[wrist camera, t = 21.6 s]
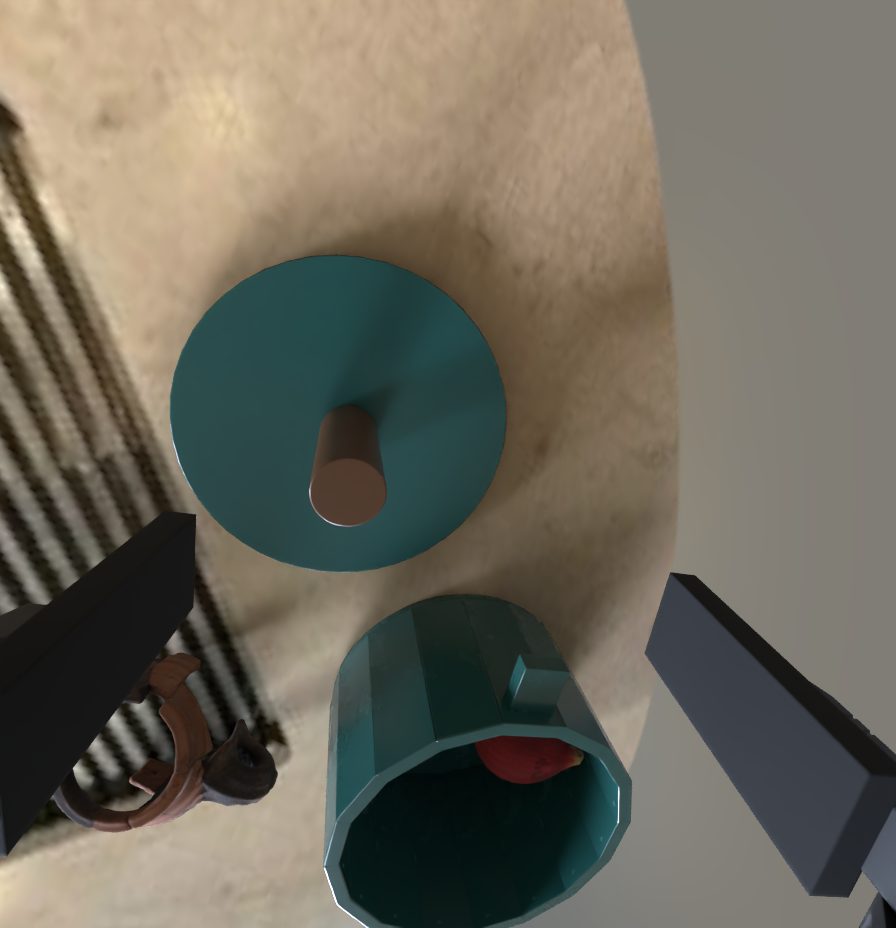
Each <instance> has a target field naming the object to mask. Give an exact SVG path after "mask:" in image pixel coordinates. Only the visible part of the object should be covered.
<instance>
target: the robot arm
mask: <svg viewBox="0 0 896 928" xmlns="http://www.w3.org/2000/svg"><path fill="white" fill-rule="evenodd" d="M195 537H196V515H195V514H187V513H179V512H171V511H164V512H163V513H162V514H161V515H159V516H158V517H157V518H156V519H154V520H153V521H152V522H151V523H149V524H148V525H147V526H146V527H144V528H143V529H142V530H140V531H139V532H138V533H137V534H135V535H134V536H133V537H132V538H130V539H129V540H128V541H127V542H125V543H124V544H123V545H122V546H120V547H119V548H118V549H117V550H115V551H114V552H113V553H112V554H110V555H109V556H108V557H106V558H105V559H104V560H103V561H101V562H100V563H99V564H98V565H96V566H95V567H94V568H93V569H91V570H90V571H89V572H88V573H86V574H85V575H84V576H83V577H81V578H80V579H79V580H78V581H76V582H75V583H74V584H72V585H71V586H70V587H69V588H67V589H66V590H65V591H64V592H62V593H61V594H60V595H59V596H57V597H56V598H55V599H54V600H52V601H51V602H50V603H49V604H47V605H41V604H31V603H28V604H26V605H24V606H21V607H19V608H17V609H14V610H12V611H10V612H8V613H5V614H3V615H1V616H0V856H7V855H8V854H9V853H10V851H11V850H12V849H13V847H14V846H15V845H16V843H17V842H18V841H19V839H20V838H21V837H22V835H23V834H24V833H25V831H26V830H27V829H28V827H29V826H30V825H31V823H32V822H33V821H34V819H35V818H36V817H37V815H38V814H39V813H40V811H41V810H42V809H43V807H44V806H45V805H46V803H47V802H48V801H49V799H50V798H51V797H52V795H53V794H54V793H55V791H56V790H57V789H58V787H59V786H60V785H61V783H62V782H63V781H64V779H65V778H66V777H67V775H68V774H69V773H70V771H71V770H72V769H73V767H74V766H75V765H76V763H77V762H78V761H79V759H80V758H81V757H82V755H83V754H84V753H85V751H86V750H87V749H88V747H89V746H90V745H91V743H92V742H93V741H94V739H95V738H96V737H97V735H98V734H99V733H100V731H101V730H102V729H103V727H104V726H105V725H106V723H107V722H108V721H109V719H110V718H111V717H112V715H113V714H114V713H115V711H116V710H117V709H118V707H119V706H120V705H121V703H122V702H123V701H124V699H125V698H126V697H127V695H128V694H129V693H130V691H131V690H132V689H133V687H134V686H135V685H136V683H137V682H138V681H139V679H140V678H141V677H142V675H143V674H144V673H145V671H146V670H147V669H148V667H149V666H150V665H151V663H152V662H153V661H154V659H155V658H156V657H157V655H158V654H159V653H160V651H161V650H162V649H163V647H164V646H165V645H166V643H167V642H168V641H169V639H170V638H171V637H172V635H173V634H174V633H175V631H176V630H177V629H178V627H179V626H180V625H181V623H182V622H183V621H184V619H185V618H186V617H187V615H188V614H189V612H190V611H191V610H192V608H193V604H194V571H195ZM645 655H646V656H647V658H648V659H649V661H650V662H651V664H652V665H653V667H654V668H655V670H656V671H657V673H658V674H659V676H660V677H661V678H662V680H663V681H664V683H665V684H666V686H667V687H668V689H669V690H670V692H671V693H672V695H673V696H674V698H675V699H676V700H677V702H678V703H679V705H680V706H681V708H682V709H683V711H684V712H685V714H686V715H687V717H688V718H689V720H690V721H691V722H692V724H693V725H694V727H695V728H696V730H697V731H698V733H699V734H700V736H701V737H702V739H703V740H704V742H705V743H706V745H707V746H708V748H709V749H710V750H711V752H712V753H713V755H714V756H715V758H716V759H717V761H718V762H719V764H720V765H721V766H722V768H723V770H724V771H725V772H726V774H727V775H728V776H729V778H730V780H731V781H732V783H733V784H734V786H735V787H736V789H737V790H738V792H739V793H740V794H741V796H742V797H743V799H744V800H745V802H746V803H747V805H748V806H749V807H750V809H751V810H752V812H753V814H754V815H755V816H756V818H757V819H758V821H759V822H760V824H761V825H762V827H763V828H764V830H765V831H766V833H767V834H768V835H769V837H770V839H771V840H772V841H773V843H774V844H775V846H776V847H777V849H778V850H779V852H780V853H781V855H782V856H783V858H784V859H785V861H786V862H787V864H788V865H789V866H790V868H791V869H792V871H793V872H794V874H795V875H796V877H797V878H798V879H799V881H800V883H801V884H802V886H803V887H804V888H805V890H806V891H807V893H808V894H809V896H826V897H849V895H850V893H851V892H852V890H853V888H854V886H855V884H856V882H857V880H858V878H859V876H860V874H861V872H862V871H863V873H864V874H865V875H866V876H867V878H868V879H869V880H870V881H871V883H872V884H873V885H874V886H875V888H876V889H877V890H878V893H877V895H876V897H875V899H874V901H873V903H872V904H871V906H870V908H869V910H868V912H867V913H866V915H865V917H864V919H863V921H862V922H861V924H860V926H859V928H896V754H895V753H894V752H892V751H891V750H890V749H889V748H888V747H887V746H886V745H885V744H884V743H883V742H881V741H880V740H879V739H878V738H877V737H876V736H875V735H871V734H870V730H868V729H867V728H866V727H865V726H864V725H863V724H862V723H861V722H860V721H859V720H857V719H854V718H853V715H852V714H851V713H850V712H849V711H848V710H846V709H845V708H844V707H843V706H842V705H841V704H840V703H839V702H838V701H837V700H835V699H834V698H833V697H832V696H831V695H829V694H828V693H826V692H825V691H823V690H822V689H820V688H819V687H817V686H816V685H814V684H813V683H811V682H810V681H808V680H807V679H806V678H805V677H804V676H803V675H802V674H801V673H800V672H799V671H797V670H796V669H795V668H794V667H793V666H792V665H791V664H790V663H789V662H788V661H787V660H786V659H784V658H783V657H782V656H781V655H780V654H779V653H778V652H777V651H776V650H775V649H774V648H773V647H771V646H770V645H769V644H768V643H767V642H766V641H765V640H764V639H763V638H762V637H761V636H760V635H759V634H757V632H755V631H754V630H753V629H752V628H751V627H750V626H749V625H748V624H747V623H746V622H745V621H743V619H741V618H740V617H739V616H738V615H737V614H736V613H735V612H734V611H733V610H732V609H730V608H729V606H727V605H726V604H725V603H724V602H723V601H722V600H721V599H720V598H719V597H718V596H717V595H716V594H715V593H713V592H712V591H711V590H710V589H709V588H708V587H707V586H706V585H705V584H704V583H703V582H702V581H701V580H699V579H698V578H697V577H696V576H695V575H687V574H679V573H671V572H670V575H669V578H668V581H667V584H666V587H665V590H664V594H663V597H662V600H661V603H660V606H659V609H658V613H657V616H656V619H655V622H654V625H653V628H652V632H651V635H650V638H649V641H648V644H647V647H646V651H645Z"/></svg>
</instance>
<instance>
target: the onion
mask: <svg viewBox="0 0 896 928" xmlns="http://www.w3.org/2000/svg"><path fill="white" fill-rule="evenodd" d="M474 743H475V746H476V749H477V752H478V755H479V757H480V758H481V760H482V761H483V763H484V764H485V766H486V767H487V769H489V770H490V771H491V772H493V773H494V774H495V775H496V776H498V777H499V778H501V779H504V780H507V781H509V782H512V783H520V784H531V783H537V782H541V781H544V780H546V779H549V778H551V777H552V776H554V775H556V774H558V773H559V772H561V771H563V770H566V769H568V768H570V767H572V766H575V765H579V764H580V763H581V761H582V760H583V758H584V753H583V752H582V750H581V749H579V748H576V747H575V746H573V745H571V744H569V743H567V742H565V741H563V740H561V739H559V738H545V737H525V736H505V735H501V736H497V737H493V738H489V739H485V740H481V741H477V742H474Z"/></svg>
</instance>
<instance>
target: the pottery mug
mask: <svg viewBox="0 0 896 928" xmlns="http://www.w3.org/2000/svg"><path fill="white" fill-rule="evenodd" d="M200 664H201V661H200V660H199V659H197V658H195V657H193V656H190V655H187V654H185V653H177V654H175V655H168V656H167V657H166V658H165V659H164V660H163V661H161V660H160V659H157V658H155V659H154V661H153V662H152V663H151V665H150V666H149V667H148V669H147V670H146V671H145V673H144V674H143V675H142V677H141V678H140V679H139V681H138V682H137V683H136V685H135V686H134V687H133V689H132V690H131V691H130V693H129V694H128V695H127V697H126V698H125V699H124V701H123V702H122V703H138V704H140V703H142V702H143V701H144V699H145V698H146V696H147V695H148V693H150V692H151V693H153V694H155V695H157V696H161V697H162V698H163V699H164V700H165V702H164V703H163V705H162V707H161V708H160V710H159V714H160V715H161V717H162V718H163V719H164V721H165V722H166V723H167V725H168V727H169V728H170V730H171V732H172V734H173V737H174V742H175V748H176V758H175V766H174V765H170V764H166V763H162V762H160V761H158V760H156V759H154V758H150V759H149V760H148V761H147V762H146V763H145V764H144V765H143V767H142V768H141V769H140V770H139V771H138V772H137V773H135V774H134V775H132V776H131V777H130V780H129V781H130V783H131V784H133V785H135V786H137V787H140V788H142V789H144V790H145V791H146V792H148V793H149V794H151V795H153V797H152V798H151V799H150V800H149V801H148V802H146V803H145V804H144V805H142V806H141V807H140V808H139V809H137V810H133V811H114V810H110V809H104V808H102V807H100V806H98V805H96V804H95V803H94V802H92V798H91V797H90V796H89V795H88V794H86V793H85V792H84V791H83V790H82V789H81V788H80V787H79V785H78V783H77V781H76V779H75V776H74V771H73V769H72V770H71V771H70V773H69V774H68V775H67V777H66V778H65V779H64V781H63V782H62V783H61V785H60V786H59V787H58V789H57V790H56V791H55V793H54V794H53V796H54V798H55V801H56V803H57V805H58V806H59V808H60V809H61V810H62V811H63V812H64V813H65V814H66V815H67V816H68V817H69V818H70V819H72V820H73V821H74V822H76V823H78V824H79V825H82V826H83V827H86V828H93V829H95V830H98V831H103V832H124V831H128V830H131V829H133V828H142V827H150V826H155V825H159V824H163V823H166V822H169V821H171V820H173V819H175V818H178V817H180V816H181V815H183V814H184V813H185V812H187V811H188V810H190V809H192V808H193V807H195V806H196V805H197V804H198V803H200V802H201V801H211V802H217V803H220V804H223V805H226V806H232V805H248V804H251V803H257V802H258V801H260V800H261V799H262V798H263V797H264V796H266V795H267V794H268V792H269V791H270V790H271V789H272V788H273V786H274V784H275V782H276V779H277V775H278V773H277V770H276V768H275V763H274V759H273V757H272V755H271V754H270V753H269V752H268V750H267V749H266V748H265V747H264V746H262V745H261V744H260V743H259V742H257V741H256V740H254V739H253V738H252V737H251V735H250V733H249V731H248V728H247V726H246V724H245V721H244V719H240V720H238V721H237V723H236V726H235V730H234V732H233V734H232V736H231V737H230V739H227V740H226V741H225V743H224V744H223V745H222V746H221V747H220V748H219V750H217V751H216V752H215V753H214V754H213V755H211V756H210V757H208V758H207V759H205V760H202V761H201V758H202V757H203V756H204V755H206V754H207V753H209V752H210V751H212V749H213V748H212V742H211V738H210V734H209V731H208V726H207V722H206V719H205V718H204V716H203V714H202V712H201V710H200V706H199V704H198V702H197V700H196V698H195V697H194V695H193V694H192V692H191V691H190V690H189V688H188V687H187V686H186V685H185V684H183V682H184V681H185V680H186V678H187V677H188V676H189V675H190V674H191V673H193V672H194V671H196V670H198V669H199V668H200Z"/></svg>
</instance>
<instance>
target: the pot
mask: <svg viewBox="0 0 896 928" xmlns="http://www.w3.org/2000/svg"><path fill="white" fill-rule="evenodd" d="M501 735H505V736H525V737H545V738H559V739H561V740H563V741H565V742H567V743H569V744H571V745H573V746H575V747H576V748H579V749H581V750H582V752H583V753H584V758H583V760H582V761H581V763H580V764H579V765H575V766H572V767H570V768H568V769H566V770H563V771H561V772H559V773H558V774H556V775H554V776H552V777H551V778H549V779H546V780H544V781H541V782H537V783H531V784H520V783H512V782H509V781H507V780H504V779H501V778H499V777H498V776H496V775H495V774H494V773H493V772H491V771H490V770H489V769H487V767H486V766H485V764H484V763H483V761H482V760H481V758H480V757H479V755H478V752H477V749H476V746H475V743H474V742H477V741H481V740H485V739H489V738H493V737H497V736H501ZM631 794H632V780H631V778H630V777H629V775H628V773H627V771H626V769H625V768H624V766H623V764H622V762H621V760H620V758H619V757H618V755H617V753H616V751H615V749H614V748H613V746H612V744H611V742H610V740H609V739H608V737H607V735H606V733H605V731H604V729H603V728H602V726H601V724H600V722H599V720H598V719H597V717H596V715H595V713H594V711H593V709H592V708H591V706H590V704H589V702H588V700H587V699H586V697H585V695H584V693H583V691H582V689H581V688H580V686H579V684H578V682H577V680H576V679H575V677H574V675H573V673H572V671H571V670H570V668H569V666H568V664H567V662H566V660H565V659H564V657H563V655H562V653H561V651H560V650H559V648H558V647H557V645H556V644H555V642H554V640H553V639H552V637H551V635H550V633H549V632H548V631H547V629H546V628H545V626H544V624H543V623H542V622H540V621H539V620H538V619H537V618H535V617H534V616H533V615H532V614H530V613H529V612H527V611H526V610H524V609H523V608H521V607H519V606H517V605H515V604H513V603H511V602H508V601H505V600H501V599H498V598H494V597H489V596H483V595H469V594H465V595H449V596H443V597H437V598H433V599H429V600H425V601H422V602H418V603H416V604H413V605H411V606H408V607H406V608H403V609H401V610H399V611H398V612H396V613H394V614H392V615H390V616H388V617H387V618H385V619H384V620H382V621H381V622H379V623H378V624H376V625H375V626H374V627H373V628H372V629H370V630H369V631H368V632H367V633H366V634H365V635H364V636H363V637H362V638H361V639H360V640H359V641H358V642H357V643H356V644H355V645H354V647H353V648H352V649H351V651H350V652H349V654H348V655H347V656H346V658H345V660H344V662H343V664H342V666H341V668H340V669H339V672H338V675H337V678H336V681H335V684H334V690H333V697H332V701H331V705H330V720H329V743H328V767H327V790H326V814H325V837H324V861H323V867H324V869H325V872H326V875H327V878H328V881H329V884H330V887H331V889H332V892H333V895H334V898H335V901H336V904H337V905H338V906H339V907H340V908H342V909H343V910H344V911H346V912H347V913H348V914H350V915H351V916H352V917H354V918H355V919H356V920H358V921H359V922H360V923H362V924H363V925H364V926H366V927H367V928H509V927H512V926H515V925H519V924H522V923H525V922H527V921H529V920H531V919H532V918H534V917H536V916H538V915H539V914H541V913H543V912H545V911H547V910H548V909H550V908H552V907H554V906H555V905H557V904H559V903H561V902H563V901H564V900H566V899H568V898H570V897H571V896H573V895H574V894H575V893H577V892H578V891H579V890H580V889H581V888H582V887H583V886H584V885H585V884H586V883H587V882H588V881H589V880H590V879H591V878H592V877H593V876H594V875H595V874H596V873H597V872H599V871H600V870H601V869H602V868H603V867H604V866H605V865H606V864H607V863H608V862H609V861H610V860H611V858H612V856H613V854H614V852H615V850H616V848H617V846H618V844H619V843H620V841H621V839H622V837H623V835H624V833H625V832H626V830H627V828H628V826H629V824H630V821H631Z"/></svg>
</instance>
